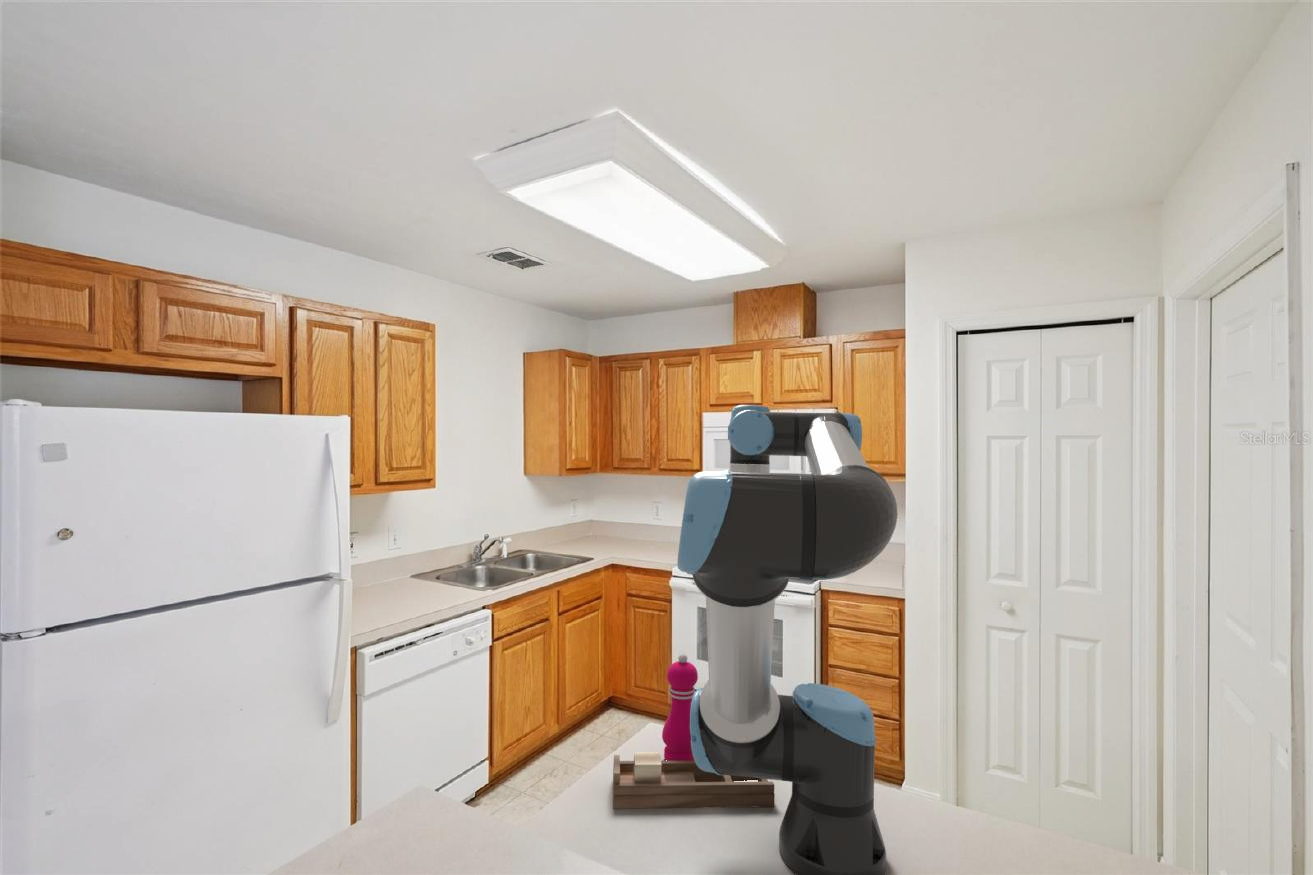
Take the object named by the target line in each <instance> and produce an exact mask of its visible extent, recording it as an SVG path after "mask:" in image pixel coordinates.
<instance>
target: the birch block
mask: <svg viewBox="0 0 1313 875" xmlns="http://www.w3.org/2000/svg"><path fill="white" fill-rule="evenodd" d="M633 761H634V773H633V776H634V783H635V782H661V768H662V764H661V761H662V760H661V752H660V751H641V752H640V751H634V752H633Z"/></svg>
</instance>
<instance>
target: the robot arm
mask: <svg viewBox="0 0 1313 875" xmlns="http://www.w3.org/2000/svg"><path fill="white" fill-rule="evenodd" d="M862 427H863V426H862V420H861V418H860V417H859V415H857V414H854V413H846V412H845V413H844V412H839V411H836V412H783V411H771V409H770V407H768V406H765V405H758V404H740V405H736V406H734V407H733V408H732V409H731V415H730V420H729V424H728V427H727V439H728V441H729V444H730V446H729V447H730V448H729V450H730V451H729V452H730V455H729V456H730V459H729V469H723V470H721V471H715V470H714V471H699V472H696V473H694V475H692V476H691V478H690V479H689V481H688V484H687V489H686V494H685V495H686V496H685V500H684V507H683V513H682V520H681V521H682V522H681V529H680V536H679V544H678V552H677V561H676V562H677V563H676V564H677V569H678V570H679V571H680V572H683V573H686V574H687V575H692V579H693V582H694V584H695V587H696V588H697V589H698V591H699V592H700V593H701V594H702V595H703V596H705V608H706V609H705V612H706V636H707V637H706V638H707V639H706V640H707V658H708V660H707V663H708V665H707V667H708V680H707V682H705V684H704V686H703V687H700V688H698V689H695V691H694V694H693V697H692V702H691V711H690V734H691V749H692V754H693V758H694V761H695V763H696V765H697V766H698V767H699V768H700V769H701V770H703V771H706V772H711V773H715V774H717V775H731V776H741V777H751V778H761V779H767V780H771V781H772V780H773V781H782V782H791V796H790V798H789V802H788V805H787V806H786V810H785V813H784V816H783V819H782V821H781V824H780V827H779V832H778V833H779V834H778V851H779V854H780V857H781V858H782V861H783V862H784V863H785V864H786V865H787V867H788V868H790V870H792V871H793V872H794V873H795V874H797V875H886V872H887V851H886V845H885V842H884V838H883V836H882V832H881V829H880V826H879V822H878V819H877V815H876V813H875V812H876V810H875V806H874V804H875V803H874V801H875V800H874V799H875V752H876V751H875V745H876V743H877V739H876V731H875V717H874V713H873V711H872V709H871V707H870V706H869V705H868V704H867V703H866V702H865V701H864V700H863V699H861V698H859V697H858V696H856V695H855V694H852V693H850V692H848V691H846V690H844V689H841V688H839V687H835V686H832V685H826V684H822V683H815V682H814V683H812V682H811V683H801V684H798V685H797V686H795V687H794V690H793V691H792V695H783V694H778V693H777V690H776V688H775V687H774V686H773V684H772V683H771V682H772V681H771V680H772V660H773V644H774V625H775V606H776V604H775V603H776V599H778V598H779V597H780V596H781V595H782V594H783V593H784V592H785V590H786V588H787V587H788V584H789V580H790V579H794V580H797V579H798V580H813V581H814V580H815V581H826V580H834V579H840V578H843V577H846V576H849V575H851V574H854V573H856V572H857V571H860V570H861V569H863V568H864V567H866V566H867V565H869V564H871V562H872V561H874V559H876V558H877V557H878V556H879V555H880V554H881V553H882V552H883V551H884V550H885V548H886V547H887V546H888V543H890V541H891V539H892V537H893V534H894V532H895V530H896V527H897V521H898V520H897V519H898V515H899V514H898V505H897V499H896V497H895V494H894V492H893V491H892V488H891V486H890V485H889V483H888V482H887V480H886V479H885V478H884V477H883V476H882V475H881V474H880V473H879V472H877V471H876V470H875V469H873V468H871V467H869V466H868V464H867V462H866V460H865V459H864V457H863V455H862V452H861V450H862V442H863V428H862ZM771 456H777V457H778V456H781V457H782V456H783V457H784V456H785V457H787V456H788V457H790V456H791V457H806V458H807V462H808V464H809V465H808V466H809V469H810V473H792V472H791V473H789V472H788V473H784V472H770V469H771V467H770V464H771V463H770V462H771V461H770V457H771Z"/></svg>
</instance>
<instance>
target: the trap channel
mask: <svg viewBox="0 0 1313 875" xmlns="http://www.w3.org/2000/svg"><path fill="white" fill-rule="evenodd" d="M661 764H662V768H661V782H635V783H634V776H633V773H634V760H621V757H620V754H613V769H612V771H613V772H612V808H613V809H676V808H677V809H680V808H681V809H682V808H683V809H685V808H686V809H687V808H688V809H689V808H691V809H694V808H702V809H703V808H774V807H775V801H776V800H775V797H776V796H775V783H774V781H769V779H761V778H751V777H741V776H731V775H717V774H715V773H711V772H706V771H703V770H701V769H700V768H699V767H698V766H697V765H696V763H695V761H666V760H661ZM744 780H745V781H747V780H758V782H734V781H744Z"/></svg>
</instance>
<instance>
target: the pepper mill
mask: <svg viewBox="0 0 1313 875" xmlns="http://www.w3.org/2000/svg"><path fill="white" fill-rule="evenodd" d="M666 679H667V682H668V684H669V685H670V686H669V687H668V690H669V692H668V695H669V696H670V698H671V703H670V704H671V705H670V710H669V711H670V712H669V714H668V716H667V717H666V718H667V719H666V720H665V722H664V725H663V727H662V734H661V737H662V738H661V739H662V741H663V743H664V744H665V747H664V749H663V759H664V758H665V759H664V761H666V760H667V761H694V758H693V754H692V749H691V734H690V711H691V702H692V697H693V694H694V692H695V691H696V688H695V685H696V684H697V683H698V679H699V675H698V670H697V668H696V666H694V664H693V663H691V662H689V661H688V656H687V655H686V654H685V653H681V654H679V655H678V661H675V662H673V663H672V664H671V665H669V668H668V669H667V672H666Z"/></svg>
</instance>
